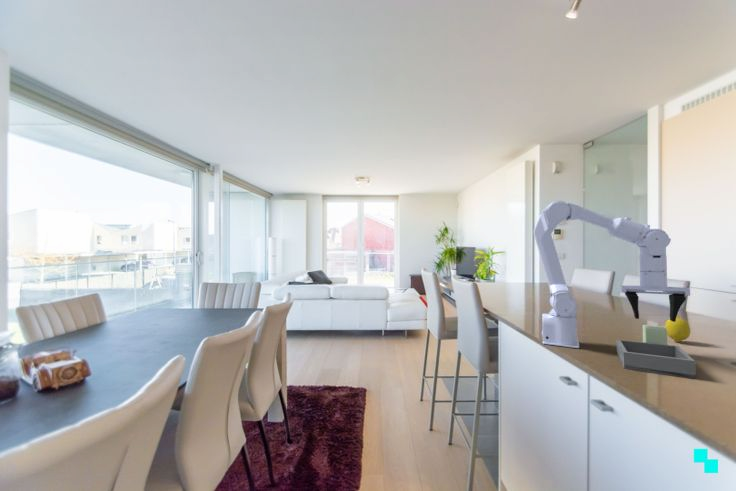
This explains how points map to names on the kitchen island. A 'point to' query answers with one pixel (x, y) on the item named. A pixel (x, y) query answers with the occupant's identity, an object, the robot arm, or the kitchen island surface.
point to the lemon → (677, 329)
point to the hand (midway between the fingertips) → (654, 319)
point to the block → (654, 334)
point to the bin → (655, 358)
